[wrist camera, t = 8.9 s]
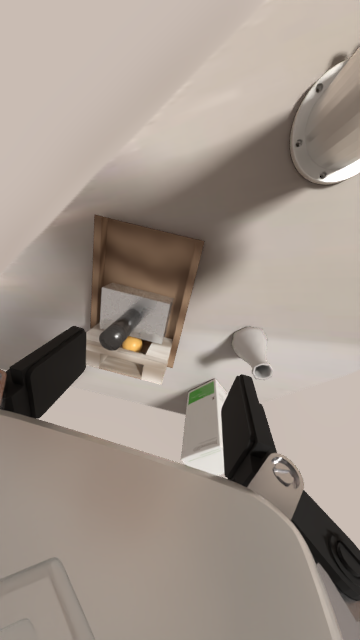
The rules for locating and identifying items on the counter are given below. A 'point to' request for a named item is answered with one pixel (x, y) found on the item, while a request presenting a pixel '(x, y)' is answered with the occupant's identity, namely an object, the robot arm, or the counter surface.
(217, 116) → the counter surface
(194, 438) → the skincare box
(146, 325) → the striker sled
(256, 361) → the flask
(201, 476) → the robot arm
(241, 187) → the counter surface
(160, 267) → the wooden tray
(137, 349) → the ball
